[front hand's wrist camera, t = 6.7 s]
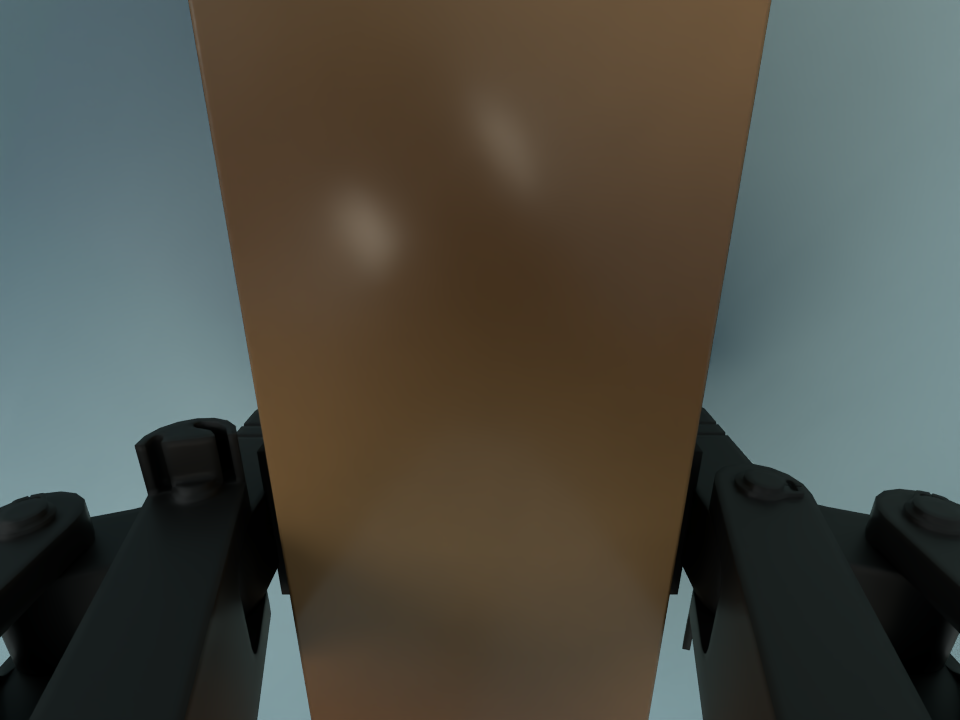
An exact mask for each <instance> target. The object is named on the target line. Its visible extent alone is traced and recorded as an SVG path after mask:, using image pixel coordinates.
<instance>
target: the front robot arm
mask: <svg viewBox="0 0 960 720" xmlns="http://www.w3.org/2000/svg"><path fill="white" fill-rule="evenodd" d="M135 449H136V452H137V456H138V460H139V463H140V467H141V471H142V474H143V478H144V482H145V485H146V489H147V492H148V496H147V498H146V500H145V502H144V504H143V506H142V507H140V508H136V509H132V510H126V511H121V512H116V513H110V514H105V515H100V516H94V517H90V515H89V512H88V509H87V506H86V503H85V499H83V498H82V497H81V496H79V495H78V494H76V493H69V492H52V493H39V494H35V495H31V496H30V497H28V496H26V497H23V498H20V499H17V500H15V501H13V502H12V503H10V504H8V505H5V506H3V507H1V508H0V637H1V636H2V638H3V640H4V642H5V645H6V647H7V649H8V651H9V654H10V657H9V658H8V659H7V660H6V661H5V662H4V663H3V664H2V666H1V667H0V720H257V717H258V709H259V702H260V694H261V686H262V678H263V671H264V663H265V655H266V648H267V640H268V632H269V625H270V617H271V611H270V604H269V598H268V593H267V589H268V587H269V585H270V582H271V580H272V578H273V576H274V574H275V572H276V570H277V569H278V574H279V580H280V585H281V591H282V594H290V592H289V586H288V580H287V575H286V569H285V563H284V557H283V551H282V545H281V540H280V534H279V528H278V522H277V516H276V510H275V505H274V499H273V493H272V487H271V481H270V475H269V469H268V464H267V458H266V452H265V446H264V440H263V434H262V429H261V423H260V417H259V411H258V409H257V410H256V411H255V412H254V413H253V414H252V415H251V416H250V417H249V419H248V420H247V421H246V422H245V423H244V426H242V427H241V428H240V429H239V430H238V431H236V426H235V425H233V424H232V423H231V422H229V421H228V420H222V419H217V418H197V419H191V420H186V421H180V422H176V423H173V424H170V425H167V426H164V427H161V428H159V429H157V430H155V431H153V432H151V433H150V434H148V435H146V436H144V437H143V438H142V439H141V440H140V441H139V442H138V443H137V444H136V445H135ZM682 567H683V568H684V570H685V572H686V574H687V576H688V578H689V580H690V582H691V585H692V587H693V593H692V598H691V604H690V609H689V614H688V619H687V625H686V630H685V635H684V641H683V648H682V649H686V650H690V646H691V641H692V639H693V646H694V654H695V662H696V669H697V677H698V685H699V692H700V700H701V708H702V715H703V720H960V664H959V663H958V661H957V660H956V659H955V658H954V657H953V656H952V655H951V654H950V652H951V650H952V648H953V646H954V644H955V641H956V639H957V637H958V635H959V633H960V505H959V504H957V503H954V502H952V501H950V500H948V499H947V498H945V497H943V496H940V495H936V494H933V493H932V494H930V493H929V492H924V491H918V490H917V491H913V490H904V489H895V490H887V491H883V492H882V493H880V494H879V495H878V496H876V498H875V501H874V504H873V507H872V510H871V513H870V515H868V514H863V513H857V512H852V511H847V510H841V509H836V508H831V507H826V506H821V505H817V503H816V501H815V499H814V497H813V495H812V494H811V493H810V492H809V490H808V489H807V488H806V487H805V486H804V485H803V484H802V483H801V482H799V481H797V480H796V479H794V478H793V477H791V476H790V475H788V474H785V473H783V472H780V471H778V470H775V469H773V468H770V467H765V466H760V465H756V464H752V463H751V462H750V460H749V459H748V458H747V457H746V456H745V455H744V454H743V452H742V451H741V450H740V449H739V448H738V447H737V445H736V444H735V443H734V442H733V441H732V440H731V439H730V437H729V436H728V435H725V432H724V431H723V429H722V428H721V427H720V426H719V425H718V424H716V421H715V420H714V419H713V418H712V417H711V416H710V414H709V413H708V412H707V411H706V410H705V409H704V408H701V414H700V420H699V426H698V432H697V438H696V444H695V449H694V455H693V461H692V467H691V473H690V479H689V484H688V490H687V496H686V502H685V508H684V514H683V520H682V525H681V531H680V537H679V543H678V549H677V555H676V560H675V566H674V572H673V578H672V584H671V590H670V594H678V589H679V584H680V578H681V572H682Z"/></svg>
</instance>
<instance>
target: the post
mask: <svg viewBox="0 0 960 720" xmlns="http://www.w3.org/2000/svg"><path fill="white" fill-rule="evenodd" d="M188 2H189V8H190V14H191V20H192V26H193V31H194V37H195V43H196V49H197V55H198V61H199V66H200V72H201V78H202V84H203V90H204V96H205V101H206V107H207V113H208V119H209V125H210V131H211V137H212V142H213V148H214V154H215V160H216V166H217V172H218V177H219V183H220V189H221V195H222V201H223V207H224V212H225V218H226V224H227V230H228V236H229V242H230V248H231V253H232V259H233V265H234V271H235V277H236V283H237V288H238V294H239V300H240V306H241V312H242V318H243V323H244V329H245V335H246V341H247V347H248V353H249V359H250V364H251V370H252V376H253V382H254V388H255V394H256V399H257V405H258V411H259V417H260V423H261V429H262V434H263V440H264V446H265V452H266V458H267V464H268V469H269V475H270V481H271V487H272V493H273V499H274V505H275V510H276V516H277V522H278V528H279V534H280V540H281V545H282V551H283V557H284V563H285V569H286V575H287V580H288V586H289V592H290V598H291V604H292V610H293V616H294V621H295V627H296V633H297V639H298V645H299V651H300V656H301V662H302V668H303V674H304V680H305V686H306V691H307V697H308V703H309V709H310V715H311V720H648V718H649V712H650V707H651V701H652V695H653V689H654V683H655V677H656V672H657V666H658V660H659V654H660V648H661V642H662V636H663V631H664V625H665V619H666V613H667V607H668V601H669V596H670V590H671V584H672V578H673V572H674V566H675V560H676V555H677V549H678V543H679V537H680V531H681V525H682V520H683V514H684V508H685V502H686V496H687V490H688V484H689V479H690V473H691V467H692V461H693V455H694V449H695V444H696V438H697V432H698V426H699V420H700V414H701V408H702V403H703V397H704V391H705V385H706V379H707V373H708V368H709V362H710V356H711V350H712V344H713V338H714V332H715V327H716V321H717V315H718V309H719V303H720V297H721V292H722V286H723V280H724V274H725V268H726V262H727V256H728V251H729V245H730V239H731V233H732V227H733V221H734V216H735V210H736V204H737V198H738V192H739V186H740V181H741V175H742V169H743V163H744V157H745V151H746V145H747V140H748V134H749V128H750V122H751V116H752V110H753V105H754V99H755V93H756V87H757V81H758V75H759V69H760V64H761V58H762V52H763V46H764V40H765V34H766V29H767V23H768V17H769V11H770V5H771V0H188Z"/></svg>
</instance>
